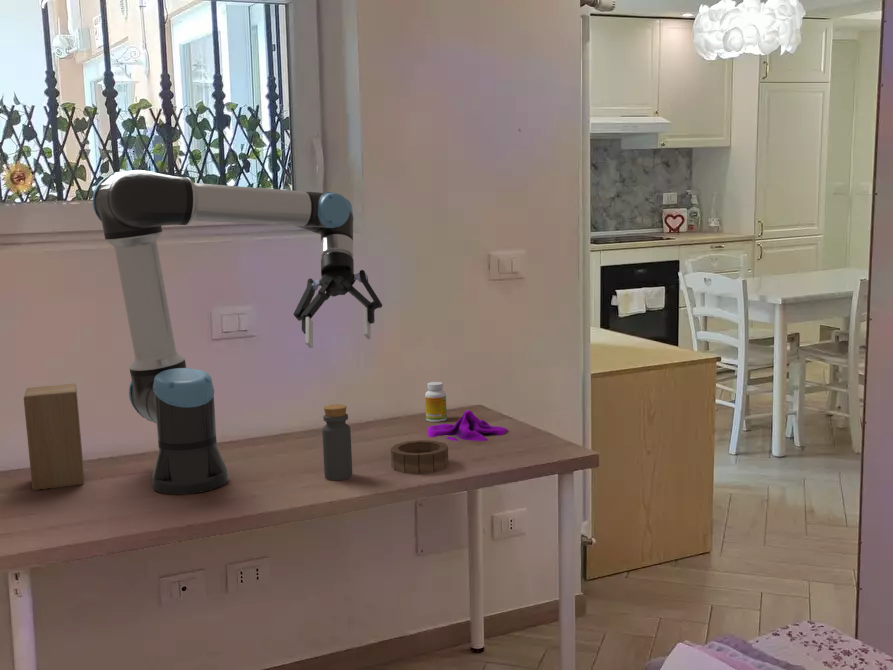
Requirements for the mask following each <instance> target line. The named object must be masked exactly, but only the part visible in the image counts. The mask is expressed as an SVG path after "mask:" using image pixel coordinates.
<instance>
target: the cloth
mask: <svg viewBox="0 0 893 670" xmlns="http://www.w3.org/2000/svg"><path fill="white" fill-rule="evenodd" d="M507 432H509V430H508V429H507V428H505V427H503V426H494V425H490V424H489V423H488V422H487V421H485V420H483V419H479V418H478V417H477V415H475V414H474V412H473V411H471V410H469V409H467V410H466V411H464V412H463V414H462V415H461V417H459V419H458V420H457V421H456V422H455V424H451V423H450V424H448V423H440V424H435V425H431V426H428V427H427V436H428V437H429V438H436V437H442V436H443V437H445V436H444V435H448V436H446V438H445V439H446V440H449V439H450V441H452V442H459V441H458V440H459V439H460V440H464V441H472V442H475V441H477V442H486V441H489V439H488V438H487V437H486V435H487V436H503V435H505V434H507ZM504 433H505V434H504ZM454 436H457V437H458V438H457V437H454Z"/></svg>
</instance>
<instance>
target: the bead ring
mask: <svg viewBox="0 0 893 670" xmlns="http://www.w3.org/2000/svg"><path fill="white" fill-rule="evenodd" d="M390 463H391V464H390V467H391V468H392V469H393V470H394V471H395V472H396V471H397V472H401V473H404V474H417V475H418V474H429V473H435V472H438V471H439V472H440V471H442V470H445V469H446V468H447V467H448V466H449V446H448V445H447V444H446V443H445V442H441V441H437V440H426V439H425V440H424V439H423V440H422V439H419V440H410V441H409V440H407V441H403V442H400V443H399V442H398V443H396V444H394V445H393V446H391V447H390Z"/></svg>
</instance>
